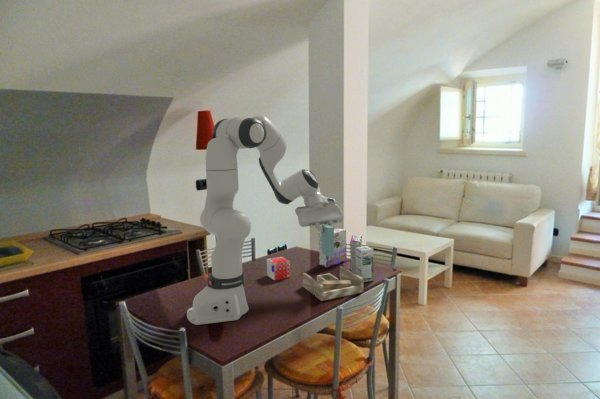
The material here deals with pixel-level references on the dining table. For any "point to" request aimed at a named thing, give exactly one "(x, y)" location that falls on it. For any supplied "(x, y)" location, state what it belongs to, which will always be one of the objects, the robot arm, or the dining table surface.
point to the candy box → (338, 249)
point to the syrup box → (364, 263)
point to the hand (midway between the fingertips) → (326, 231)
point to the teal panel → (328, 240)
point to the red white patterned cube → (278, 268)
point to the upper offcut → (336, 284)
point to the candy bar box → (354, 250)
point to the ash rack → (345, 274)
